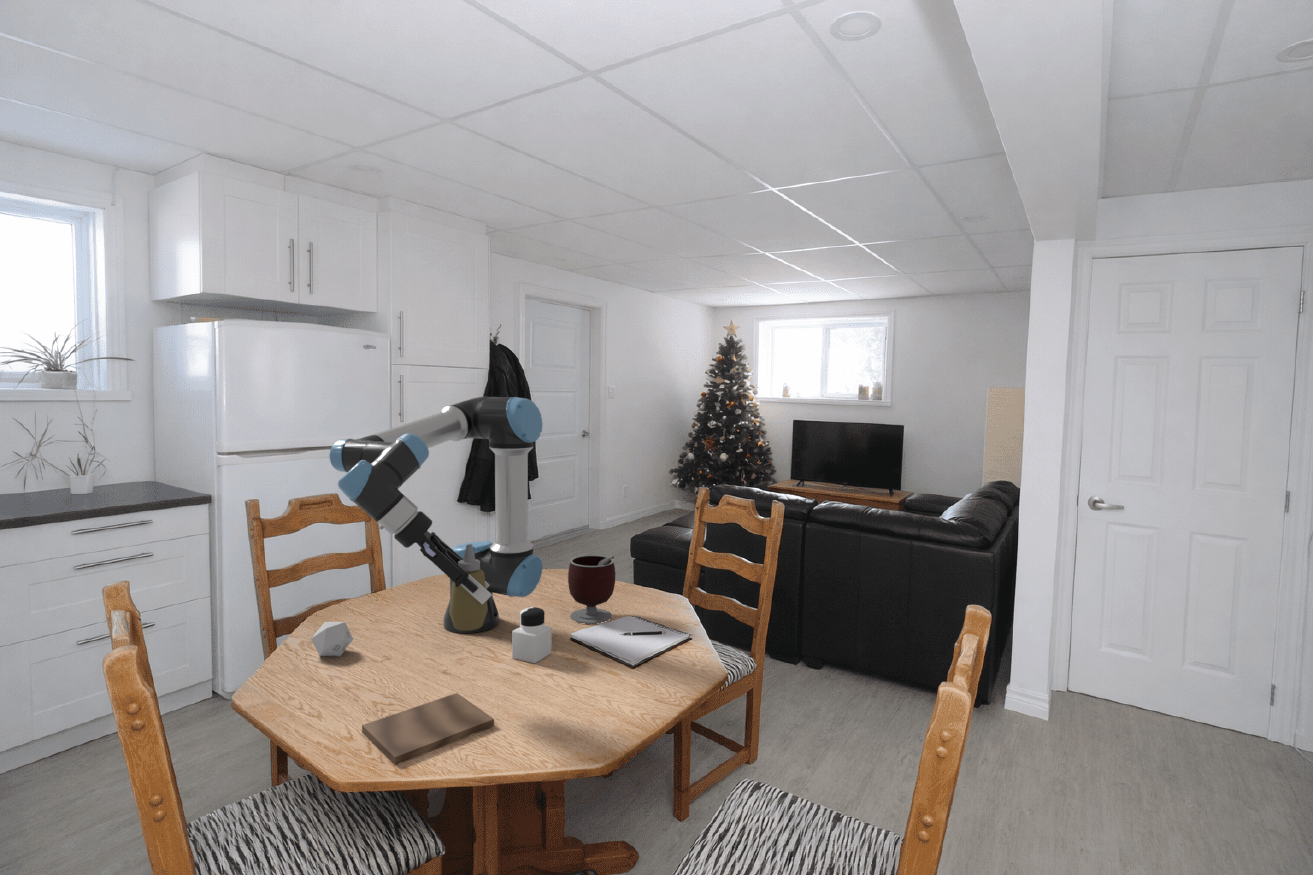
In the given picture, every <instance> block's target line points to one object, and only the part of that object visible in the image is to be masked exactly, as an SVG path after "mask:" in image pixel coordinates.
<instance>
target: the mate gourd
mask: <svg viewBox="0 0 1313 875" xmlns="http://www.w3.org/2000/svg"><path fill="white" fill-rule="evenodd" d="M614 559H615V556H613V555H611V556H605V555H598V554H591V555H590V554H586V555H578V556H575V557H572V558H571V559H570V560H569V562H570V563H569V566H568V571H567V572H568V573H567V576H568V577H567V584H568V590H569V593H570V596H571V597H572V598H573V600H574V601H575V602H576V603H577V604H581V605H584V606H586V607H585V608H580V609H576V610H574V611H572V612H571V613H570V615H569V616H570V617H569V618H571V619H572V620H574V621H576V622H578V623H577V624H579V623H585V624H596V625H598V624H597V623H601V622H605V621H608V620H609V619H611V618H612V617H613V614H612V613H611V611H609V610H607V609H603V608H597V606H598V605H599V606H600V605H602V604H604V603H607V602H608V600H609V599H610V598H611V597H612V595H613V593H614V591H615V590H614V589H615V586H616V567H615V561H614ZM571 619H570V620H571ZM572 620H571V621H572ZM611 620H612V619H611ZM576 622H575V623H576ZM608 622H609V621H608ZM585 624H584V625H585Z"/></svg>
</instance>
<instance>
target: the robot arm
mask: <svg viewBox="0 0 1313 875" xmlns="http://www.w3.org/2000/svg"><path fill="white" fill-rule="evenodd" d="M542 432H543V418H542V414H541V411H540V409H539V407H538V406H537V404H536V403H535V402H534V401H533V400H530V399H529V398H526V397H525V398H524V397H517V396H513V397H512V396H507V397H505V396H504V397H503V396H481V397H480V396H479V397H478V396H477V397H473V398H470V399H467V400H463V401H460V402H458V403H457V402H456V403H454V404H451V405H448V406H445V407H443V408H442V409H441V410H440V412H439V413H437V414H436V413H434V414H432V415H429V416H426V417H423V418H420V419H417V420H413V421H410V422H408V423H405V424H402V425H399V426H395V427H392V428H389V429H387V430H383V431H380V432H377V433H374V434H370V435H367V436H363V437H360V438H357V439H355V438H345V439H339V440H336V442H334V444H332V446H331V448H330V451H329V462H330V464H331V466H332V467H333V468H334V469H335V470H336V471H338V472H342V473H345V474H344V475H342V477H341V478H340V479H339V480H338V482H337V486H338V489H340V491H342V493H343V494H344V495H345V497H346V496H347V498H348V499H349V500H350V501H351V502H353V503H354V504H355V505H357V507H359V508H360V509H361V510H362V511H364V512H365V513H366V514H367V515H368V516H369V517H370V518H371V519H373V520H374V521H375V522H376V523H377V524H378V525H379V526H378V528H379V530H383V529H384V530H385V531H386V532H387V533H388V534H390V535H393V534H394V539H395V540H396V541H397V542H398V543H399V544H401V545H402V546H403V547H404V548H410V547H411V546H413V545H414V544H417V545H418V546H419V547H420V549H419V551H420V552H421V554H422V555H423V556H424V557H426V559H428V560H429V561H430V562H432V564H434V565H435V566H436V567H437V568H438V569H439V570H440V571H441V572H443V573H444V575H445V576H446V577H448V578H449V600H448V603H447V607H446V610H445V612H444V616H443V628H444V629H445V630H446V631H449V632H453V633H459V634H473V633H479V632H485V631H487V630H491V629H493V628H495V627H496V626H498V625H499V621H500V615H499V614H500V613H499V611H498V608H497V605H496V601H495V599H494V596H493V594H498V595H503V596H507V597H510V598H515V597H516V598H524V597H528V596H529V595H531V594H532V593H533V592H534V591H535V589H536V588H537V586H538V585H539V583H540V580H541V578H542V573H543V562H542V559H541V557H539V556H538V555H536V554H534V544H533V543H532V542H530V541H529V534H528V533H529V532H528V530H529V529H528V528H529V527H528V526H529V524H528V522H529V521H528V520H529V519H528V518H529V517H528V516H529V515H528V512H529V511H528V504H529V502H528V498H529V495H528V493H529V492H528V491H529V490H528V488H529V485H528V482H529V481H528V480H529V479H528V469H529V468H528V466H529V464H528V463H529V462H528V461H529V460H528V458H529V457H528V456H529V452H530V451H531V450H532V449H534V442H536V441H537V440H539V438H540V437H541V433H542ZM465 439H480V440H481V439H482V440H488V447H489V449H490V450H491V451H492V452H493V453H494V469H495V471H494V478H495V481H494V483H495V485H494V486H495V491H494V492H495V499H494V501H495V502H494V504H495V506H494V507H495V541H494V542H492V541H488V540H483V541H482V540H481V541H479V540H478V541H472V542H465V543H462V544H459V545H458V544H457V545H455V546H454V547H452V548H451V547H450V546H449V545H448V544H446V543H445V542H444V541H443V540H442V538H440V537H439V536H438V535H437V534H436V532H434V531H432V532H430V531H429V529H430V528H431V527H432V525H433V520H432V519H431V518H430V517H429V516H428V515H427V514H425V513H424V512H423V510H421V511H418V509H419V508H418V506H417V505H416V504H415V503H414V502H412V500H410V499H409V498H408V497H407V496H406V495H405V494H404V493H402V492H401V491H400V490H399V489H400V487H402V486H403V484H404V483H405V482H407V480H409V479H410V478H411V477H412V476H413V475H414V474H415V473H416V472H417V471H418V470H420V469H421V467H422V465H423V464H424V463H425V462H426V461H427V459H428V458H429V455H430V451H429V449H430V448H432V447H433V448H434V447H436V446H439V445H441V444H444V443H447V442H449V441H453V442H459V441H463V440H465ZM467 544H472V546H473V551H474V556H475V559H477V560H479V561H480V570H482V571H483V572H484V575H485V586H486V589H485V588H484V587H483V586H482V585H481V584H480V583H479V582H477V581H476V580H475V579H474V578H473V577H472V576H471V575H470V574H469V575H468V574H467V573H466V572H465V571H464V570H463V569H462V568H461V567H460V566H459V565H458V562H459V561H460V560H463V558H464V554H465V550H466V545H467ZM459 575H460V576H459ZM458 576H459V577H458ZM457 577H458V578H457ZM453 582H455V584H456V585H455V586H456V587H458V586H459V585H461V586H462V587H463V588H464V589H465V590H466V591H468V592H469V593H470V594H471V595H472V596H473V597H474V598H475V599H477V600H478V601H479V602H480V603H481V604H482V605H483V604H484V603H485V602H486V601H487V608H488V611H487V614H486V617H485V619H484V622H483V625H482V627H480V628H478V629H475V630H468V631H463V630H458V629H456V628H454V625H453V622H452V619H451V616H450V613H449V611H450V602H451V593H452V584H453Z"/></svg>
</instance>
